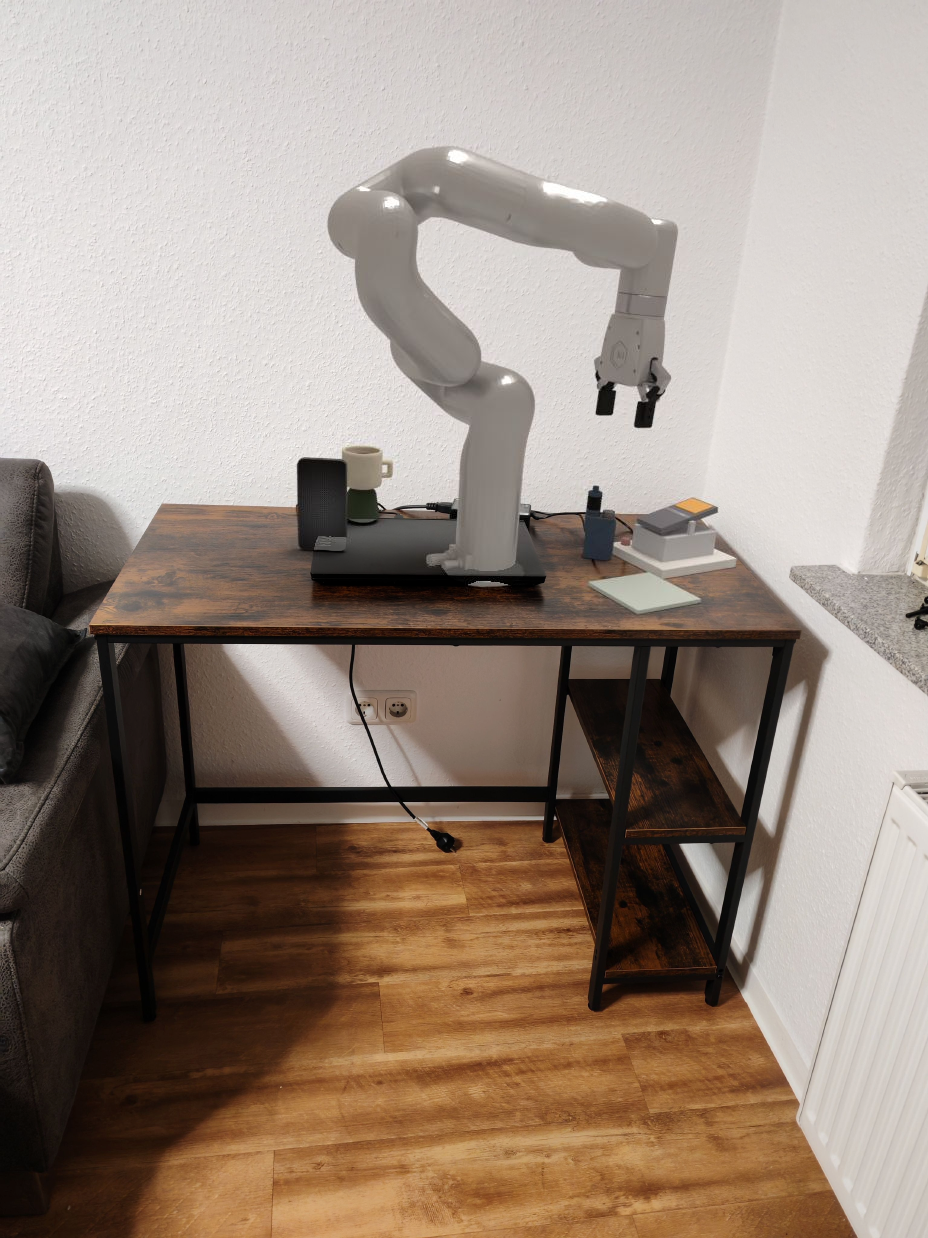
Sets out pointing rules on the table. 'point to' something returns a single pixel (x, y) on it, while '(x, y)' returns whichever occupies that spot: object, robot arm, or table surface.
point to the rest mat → (644, 592)
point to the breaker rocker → (677, 515)
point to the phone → (321, 499)
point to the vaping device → (598, 528)
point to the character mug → (364, 480)
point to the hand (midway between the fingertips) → (622, 421)
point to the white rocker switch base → (673, 551)
